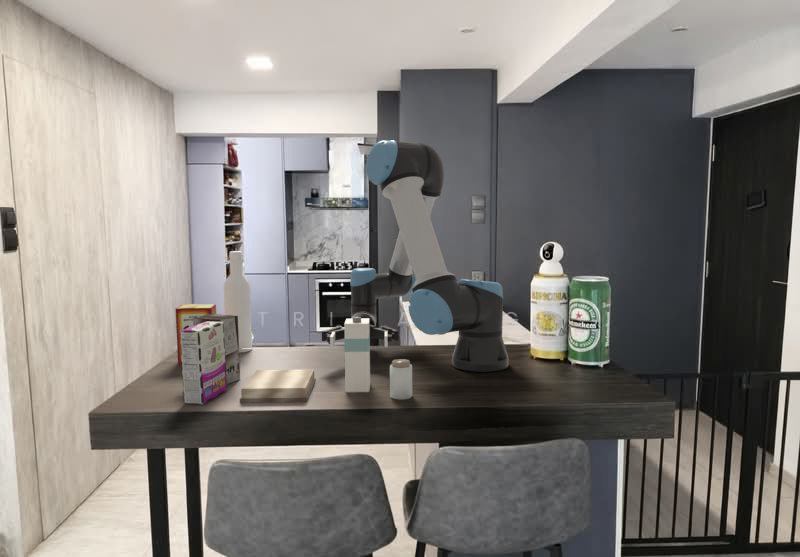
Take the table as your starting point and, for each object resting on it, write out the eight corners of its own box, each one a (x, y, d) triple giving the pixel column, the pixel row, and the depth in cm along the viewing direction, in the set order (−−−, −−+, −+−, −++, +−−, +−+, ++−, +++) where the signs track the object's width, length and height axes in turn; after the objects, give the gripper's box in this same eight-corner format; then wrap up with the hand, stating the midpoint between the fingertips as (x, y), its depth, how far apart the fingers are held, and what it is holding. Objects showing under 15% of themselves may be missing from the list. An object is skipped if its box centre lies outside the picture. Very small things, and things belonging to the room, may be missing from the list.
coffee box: (241, 379, 151) (239, 315, 150) (223, 385, 146) (221, 319, 144) (213, 375, 155) (210, 313, 154) (194, 381, 149) (192, 317, 148)
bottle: (248, 353, 180) (245, 252, 177) (222, 353, 180) (218, 252, 177) (255, 347, 188) (252, 250, 185) (230, 347, 188) (226, 250, 185)
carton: (370, 383, 147) (369, 314, 145) (369, 392, 140) (368, 319, 138) (347, 383, 147) (346, 314, 145) (345, 392, 140) (344, 319, 138)
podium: (315, 381, 149) (315, 369, 149) (306, 401, 133) (306, 388, 132) (256, 381, 149) (255, 369, 149) (239, 402, 132) (239, 389, 132)
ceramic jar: (411, 392, 139) (411, 358, 138) (412, 399, 134) (412, 363, 133) (389, 393, 139) (389, 358, 138) (390, 399, 134) (389, 364, 133)
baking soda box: (217, 358, 174) (215, 303, 172) (213, 363, 167) (211, 306, 166) (183, 359, 173) (181, 303, 171) (178, 365, 166) (175, 307, 165)
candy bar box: (208, 389, 142) (205, 320, 141) (227, 390, 141) (225, 321, 140) (181, 404, 132) (178, 329, 130) (202, 405, 131) (199, 330, 129)
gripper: (406, 338, 173) (408, 356, 152) (318, 339, 173) (309, 357, 152) (406, 313, 173) (408, 326, 152) (318, 313, 172) (308, 327, 151)
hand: (358, 342), depth 152 cm, fingers open, 13 cm apart
